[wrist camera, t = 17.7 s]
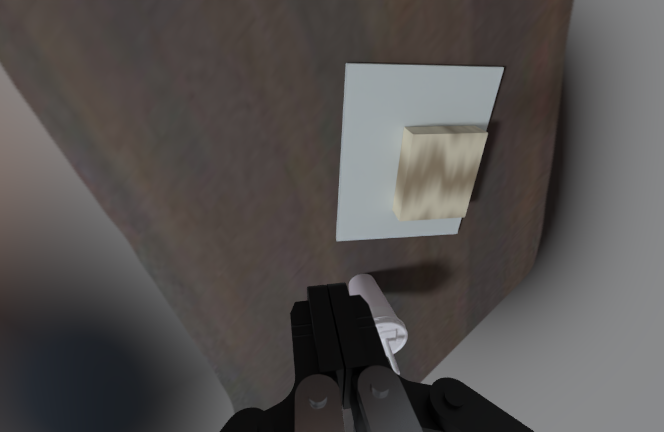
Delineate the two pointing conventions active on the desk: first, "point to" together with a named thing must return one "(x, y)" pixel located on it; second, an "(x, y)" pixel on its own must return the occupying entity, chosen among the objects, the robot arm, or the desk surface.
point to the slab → (437, 171)
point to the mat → (400, 136)
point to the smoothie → (381, 315)
